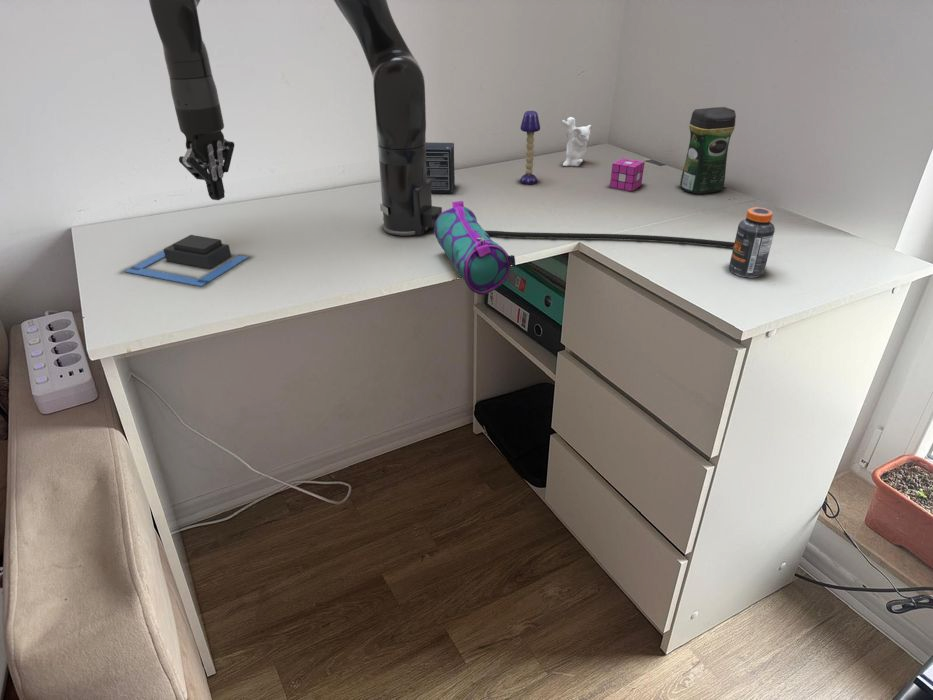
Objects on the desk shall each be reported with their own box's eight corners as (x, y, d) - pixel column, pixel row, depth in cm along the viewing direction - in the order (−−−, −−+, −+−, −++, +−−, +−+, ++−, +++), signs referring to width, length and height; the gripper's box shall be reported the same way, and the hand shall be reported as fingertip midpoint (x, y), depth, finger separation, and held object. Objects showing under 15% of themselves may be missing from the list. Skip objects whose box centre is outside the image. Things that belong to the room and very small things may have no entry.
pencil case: (514, 293, 111) (516, 239, 106) (464, 300, 109) (464, 246, 104) (476, 246, 128) (477, 198, 123) (432, 252, 126) (431, 203, 121)
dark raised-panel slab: (231, 256, 125) (227, 239, 123) (210, 269, 120) (206, 251, 118) (188, 249, 128) (184, 232, 126) (166, 261, 123) (161, 243, 121)
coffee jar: (708, 182, 162) (723, 102, 152) (728, 192, 155) (745, 110, 146) (673, 185, 160) (686, 105, 150) (691, 196, 153) (706, 112, 143)
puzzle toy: (619, 181, 163) (622, 158, 160) (641, 185, 160) (644, 161, 157) (609, 187, 159) (612, 163, 156) (631, 191, 156) (634, 167, 153)
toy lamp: (538, 185, 160) (542, 114, 152) (518, 185, 160) (521, 114, 152) (536, 179, 164) (540, 109, 156) (517, 179, 164) (520, 109, 156)
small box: (455, 185, 160) (455, 141, 155) (452, 194, 155) (451, 149, 149) (412, 184, 161) (410, 140, 156) (407, 192, 156) (405, 147, 150)
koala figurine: (561, 168, 172) (565, 121, 166) (554, 161, 178) (557, 115, 171) (592, 167, 173) (597, 119, 167) (584, 159, 179) (589, 113, 172)
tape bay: (248, 257, 124) (248, 256, 124) (201, 286, 114) (201, 285, 114) (175, 245, 129) (175, 244, 129) (124, 272, 119) (124, 271, 119)
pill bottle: (723, 265, 121) (736, 205, 115) (754, 263, 121) (769, 204, 115) (737, 279, 116) (751, 217, 110) (769, 277, 116) (786, 216, 110)
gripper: (188, 112, 110) (211, 212, 119) (238, 97, 121) (255, 190, 130) (152, 109, 112) (177, 208, 122) (204, 94, 123) (224, 186, 132)
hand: (218, 198), depth 126 cm, fingers closed
